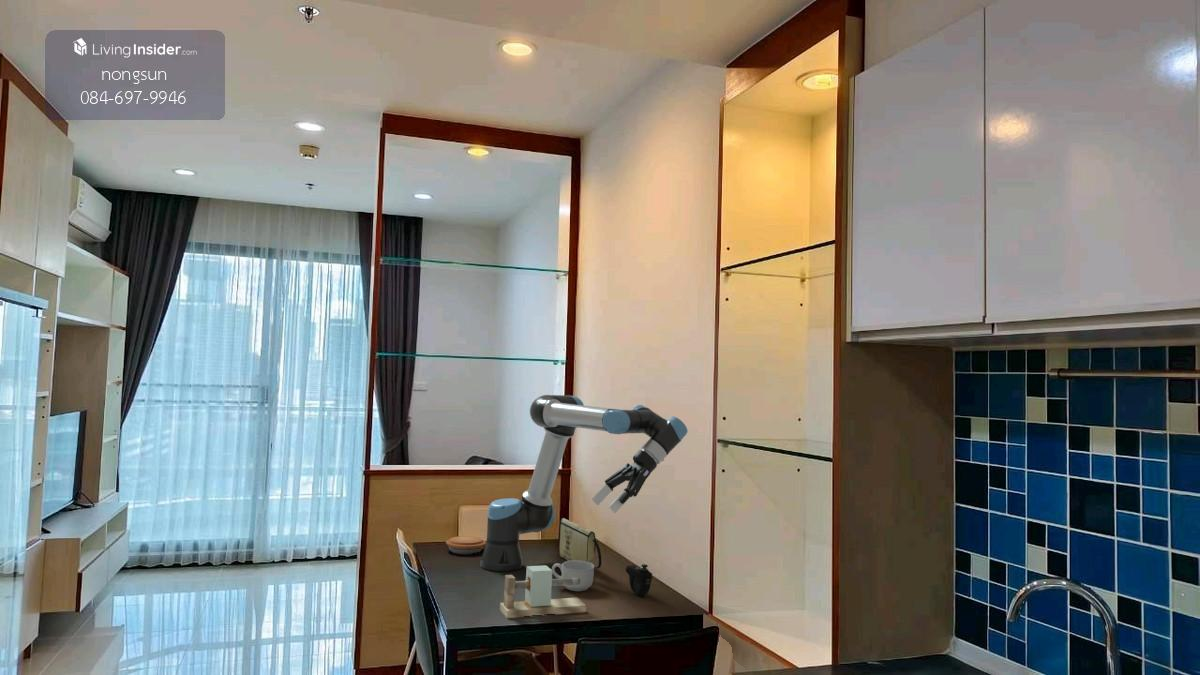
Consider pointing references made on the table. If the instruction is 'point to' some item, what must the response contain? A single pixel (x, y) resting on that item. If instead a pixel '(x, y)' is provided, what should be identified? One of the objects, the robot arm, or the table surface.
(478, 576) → the table surface
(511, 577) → the lead screw slider
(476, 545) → the pie
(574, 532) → the clutch purse
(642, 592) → the controller
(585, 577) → the teacup
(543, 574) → the sleeve
